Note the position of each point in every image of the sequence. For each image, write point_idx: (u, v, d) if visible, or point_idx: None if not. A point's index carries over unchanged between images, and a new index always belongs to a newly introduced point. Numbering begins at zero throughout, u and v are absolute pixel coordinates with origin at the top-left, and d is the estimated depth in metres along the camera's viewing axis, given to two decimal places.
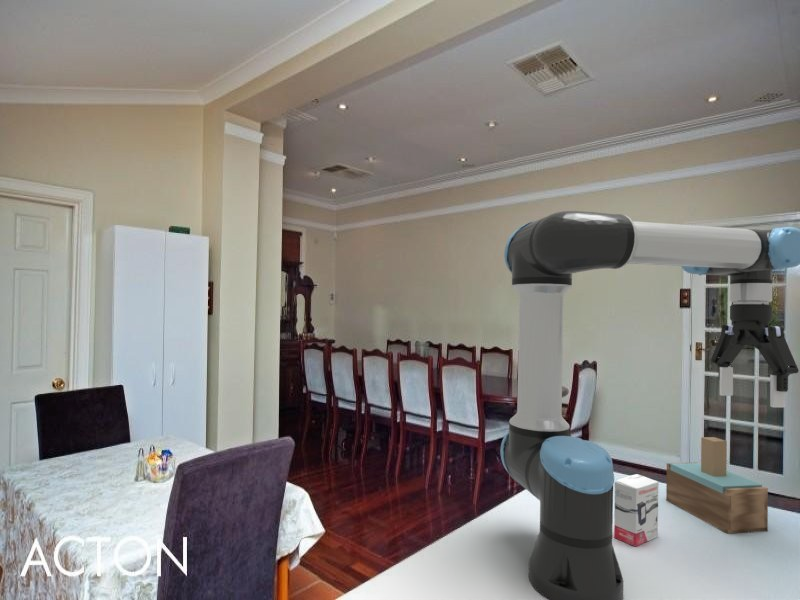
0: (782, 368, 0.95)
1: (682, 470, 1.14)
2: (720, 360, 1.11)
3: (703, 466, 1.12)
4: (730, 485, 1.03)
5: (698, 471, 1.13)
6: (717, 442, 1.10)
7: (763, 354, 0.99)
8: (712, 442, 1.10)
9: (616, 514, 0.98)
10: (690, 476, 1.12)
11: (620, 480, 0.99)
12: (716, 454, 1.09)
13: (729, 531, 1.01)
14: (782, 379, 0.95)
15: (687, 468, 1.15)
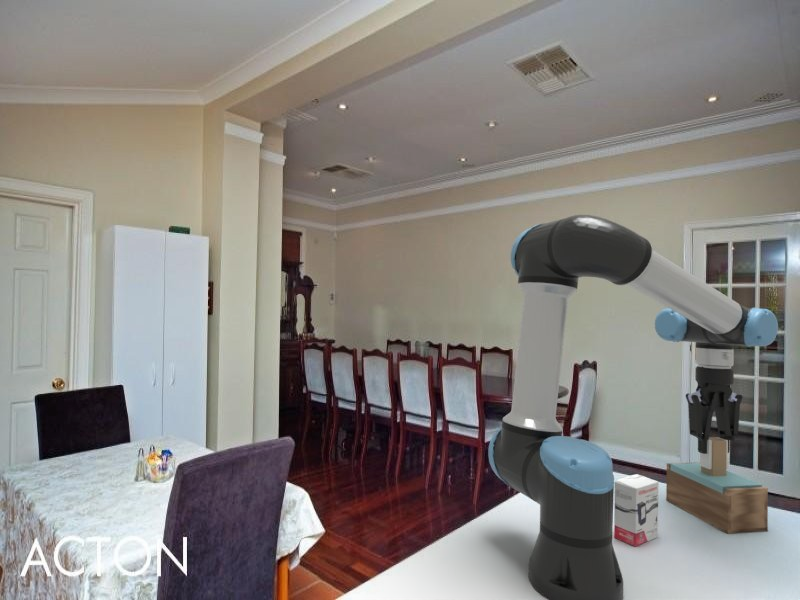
0: None
1: (682, 470, 1.14)
2: None
3: None
4: (730, 485, 1.03)
5: (698, 471, 1.13)
6: (717, 442, 1.10)
7: None
8: (712, 442, 1.10)
9: (616, 514, 0.98)
10: (690, 476, 1.12)
11: (620, 480, 0.99)
12: (716, 454, 1.09)
13: (729, 531, 1.01)
14: (698, 441, 1.11)
15: (687, 468, 1.15)
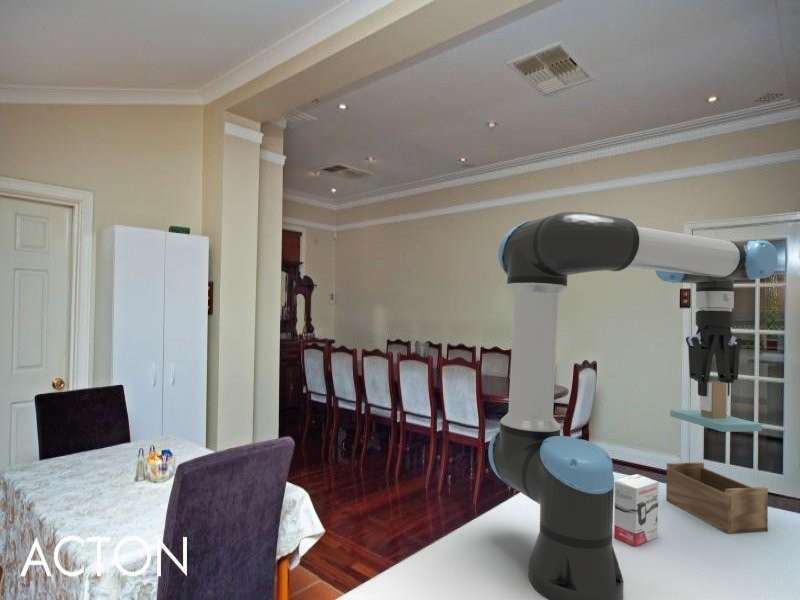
0: None
1: (682, 414, 1.14)
2: None
3: None
4: (729, 424, 1.03)
5: (697, 415, 1.13)
6: (717, 384, 1.10)
7: None
8: (712, 384, 1.10)
9: (616, 514, 0.98)
10: (690, 419, 1.12)
11: (620, 480, 0.99)
12: (716, 396, 1.09)
13: (729, 531, 1.01)
14: (698, 384, 1.11)
15: (687, 413, 1.15)
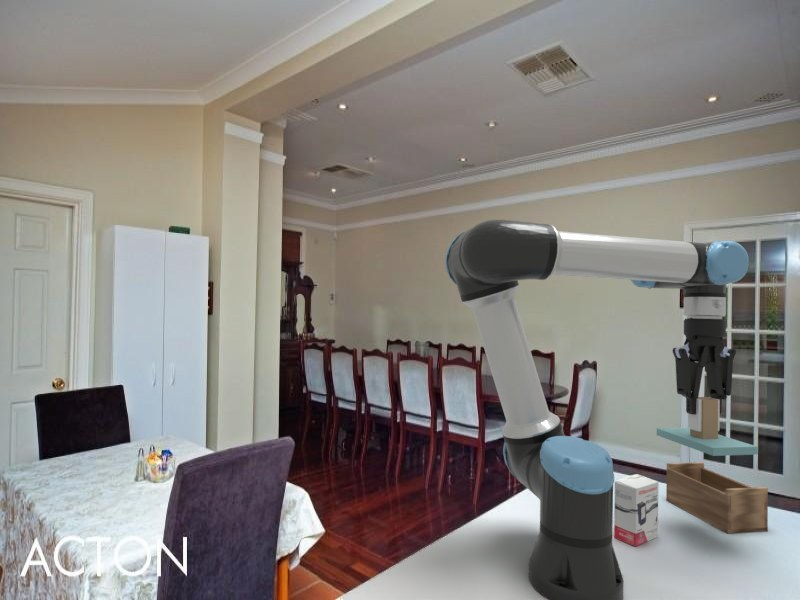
0: None
1: (669, 433, 1.02)
2: None
3: None
4: (721, 447, 0.92)
5: (686, 434, 1.01)
6: (707, 401, 0.98)
7: None
8: (702, 401, 0.98)
9: (616, 514, 0.98)
10: (678, 440, 1.00)
11: (620, 480, 0.99)
12: (707, 415, 0.98)
13: (729, 531, 1.01)
14: (686, 401, 1.00)
15: (675, 432, 1.03)
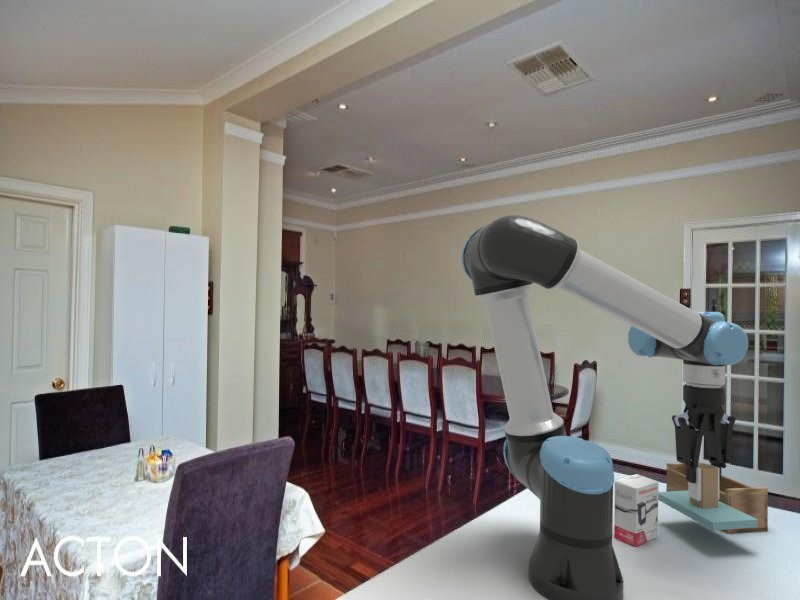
0: None
1: (669, 500, 1.02)
2: None
3: None
4: (721, 521, 0.91)
5: (686, 501, 1.01)
6: (707, 470, 0.98)
7: None
8: (702, 470, 0.98)
9: (616, 514, 0.98)
10: (677, 508, 1.00)
11: (620, 480, 0.99)
12: (707, 484, 0.97)
13: (729, 531, 1.01)
14: (686, 469, 0.99)
15: (674, 498, 1.03)
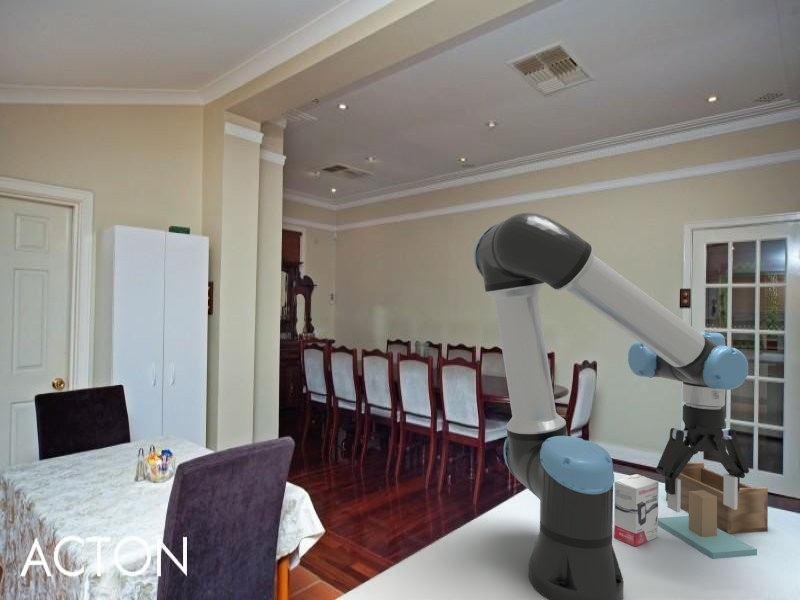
0: None
1: (668, 527, 1.02)
2: None
3: (690, 523, 1.00)
4: (721, 551, 0.91)
5: (685, 529, 1.01)
6: (706, 498, 0.97)
7: None
8: (701, 498, 0.97)
9: (616, 514, 0.98)
10: (676, 535, 0.99)
11: (620, 480, 0.99)
12: (706, 512, 0.97)
13: (729, 531, 1.01)
14: (665, 480, 0.98)
15: (673, 525, 1.02)
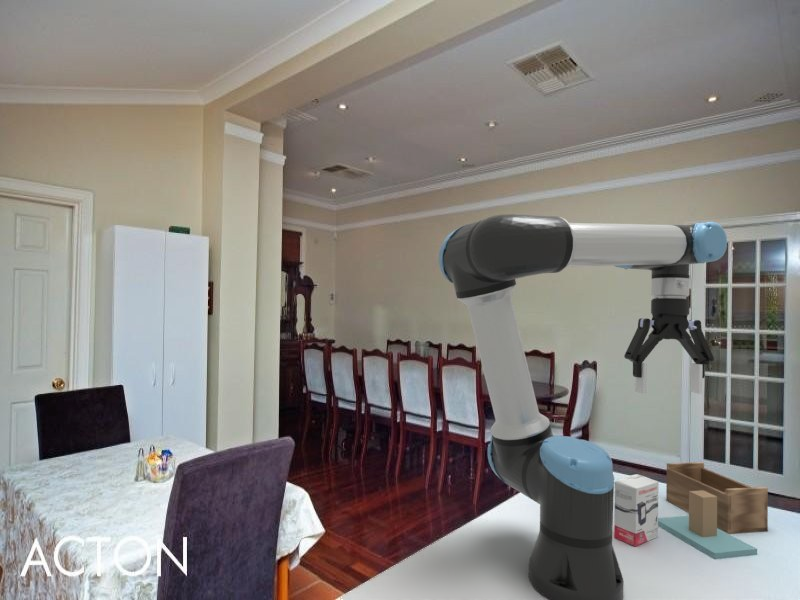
0: None
1: (668, 527, 1.01)
2: None
3: (691, 523, 1.00)
4: (722, 551, 0.91)
5: (685, 529, 1.00)
6: (707, 498, 0.97)
7: None
8: (701, 498, 0.97)
9: (616, 514, 0.98)
10: (677, 536, 0.99)
11: (620, 480, 0.99)
12: (706, 512, 0.97)
13: (729, 531, 1.01)
14: (633, 365, 1.06)
15: (673, 525, 1.02)
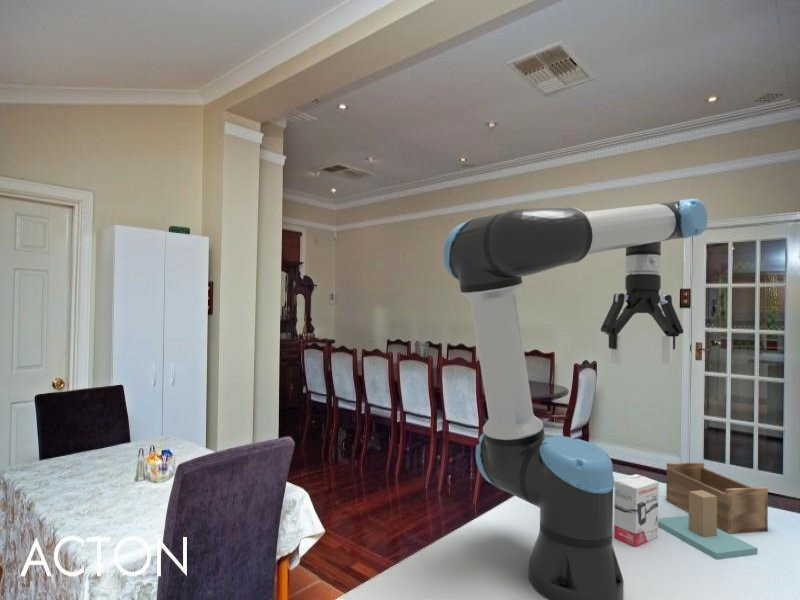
0: None
1: (668, 527, 1.01)
2: None
3: (691, 524, 1.00)
4: (723, 551, 0.91)
5: (685, 529, 1.00)
6: (707, 498, 0.97)
7: None
8: (702, 498, 0.97)
9: (616, 514, 0.98)
10: (677, 536, 0.99)
11: (620, 480, 0.99)
12: (706, 512, 0.97)
13: (729, 531, 1.01)
14: (609, 338, 1.12)
15: (673, 525, 1.02)
